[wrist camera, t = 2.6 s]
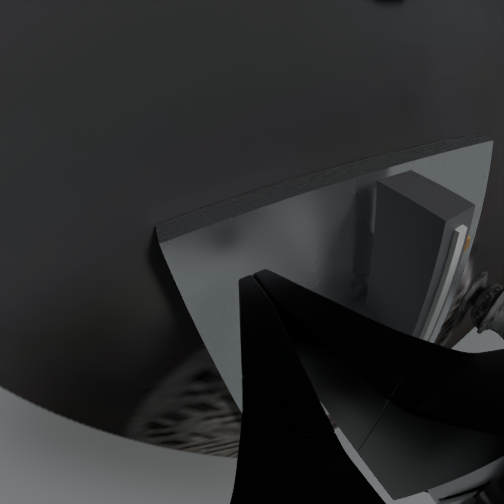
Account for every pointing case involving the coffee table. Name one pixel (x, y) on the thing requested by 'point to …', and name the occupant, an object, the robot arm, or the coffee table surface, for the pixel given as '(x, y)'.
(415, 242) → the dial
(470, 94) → the coffee table surface
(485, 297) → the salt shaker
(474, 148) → the panel
